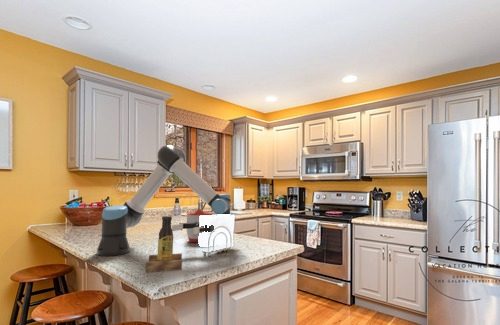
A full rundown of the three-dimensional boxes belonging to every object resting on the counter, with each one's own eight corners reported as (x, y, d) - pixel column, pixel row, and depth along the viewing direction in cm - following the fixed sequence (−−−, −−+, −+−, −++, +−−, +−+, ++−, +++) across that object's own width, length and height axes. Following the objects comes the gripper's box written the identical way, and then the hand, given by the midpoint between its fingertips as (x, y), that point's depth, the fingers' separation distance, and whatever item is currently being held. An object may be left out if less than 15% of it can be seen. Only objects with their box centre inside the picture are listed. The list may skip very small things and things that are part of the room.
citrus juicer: (206, 244, 165) (207, 209, 167) (180, 242, 171) (181, 209, 172) (218, 239, 180) (218, 207, 181) (194, 238, 185) (194, 207, 187)
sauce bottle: (162, 266, 117) (163, 217, 119) (154, 263, 121) (155, 216, 123) (175, 263, 122) (176, 216, 124) (167, 260, 126) (168, 215, 128)
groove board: (145, 271, 114) (145, 262, 114) (149, 262, 126) (149, 255, 127) (181, 269, 117) (181, 260, 117) (181, 260, 130) (181, 253, 130)
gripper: (231, 234, 142) (203, 240, 124) (194, 229, 156) (163, 234, 138) (231, 218, 143) (203, 223, 125) (194, 215, 156) (164, 219, 138)
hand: (182, 229), depth 131 cm, fingers open, 13 cm apart
